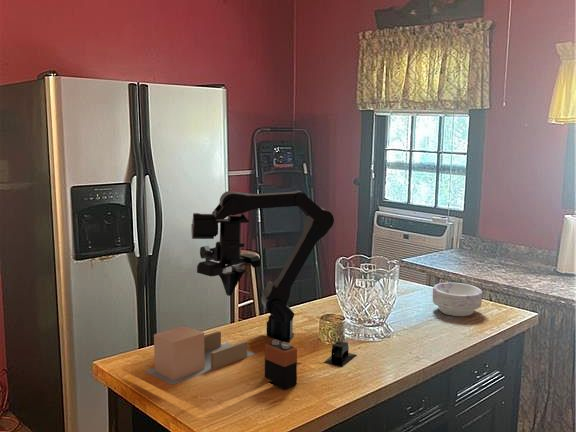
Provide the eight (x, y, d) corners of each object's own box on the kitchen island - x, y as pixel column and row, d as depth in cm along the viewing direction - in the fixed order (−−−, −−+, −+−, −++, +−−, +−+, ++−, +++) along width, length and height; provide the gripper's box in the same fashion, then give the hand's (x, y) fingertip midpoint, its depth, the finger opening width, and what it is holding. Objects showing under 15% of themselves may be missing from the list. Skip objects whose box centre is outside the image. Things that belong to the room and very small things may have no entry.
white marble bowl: (479, 322, 187) (480, 297, 186) (428, 316, 192) (429, 291, 191) (482, 308, 201) (484, 284, 200) (435, 303, 206) (436, 280, 205)
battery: (284, 390, 138) (284, 348, 137) (263, 381, 143) (263, 340, 142) (297, 385, 141) (298, 343, 140) (277, 376, 146) (277, 336, 145)
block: (185, 360, 152) (184, 325, 151) (204, 368, 147) (204, 332, 146) (154, 370, 146) (153, 334, 144) (174, 380, 141) (173, 342, 139)
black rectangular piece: (337, 350, 164) (337, 334, 164) (362, 355, 161) (363, 339, 160) (316, 366, 154) (316, 349, 153) (343, 372, 150) (343, 354, 149)
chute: (227, 347, 165) (226, 328, 164) (255, 358, 157) (255, 338, 156) (144, 375, 146) (144, 354, 145) (172, 389, 138) (172, 367, 138)
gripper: (234, 230, 176) (232, 283, 179) (183, 238, 162) (182, 295, 165) (262, 236, 169) (260, 291, 171) (212, 244, 155) (211, 304, 157)
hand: (229, 295), depth 166 cm, fingers closed
